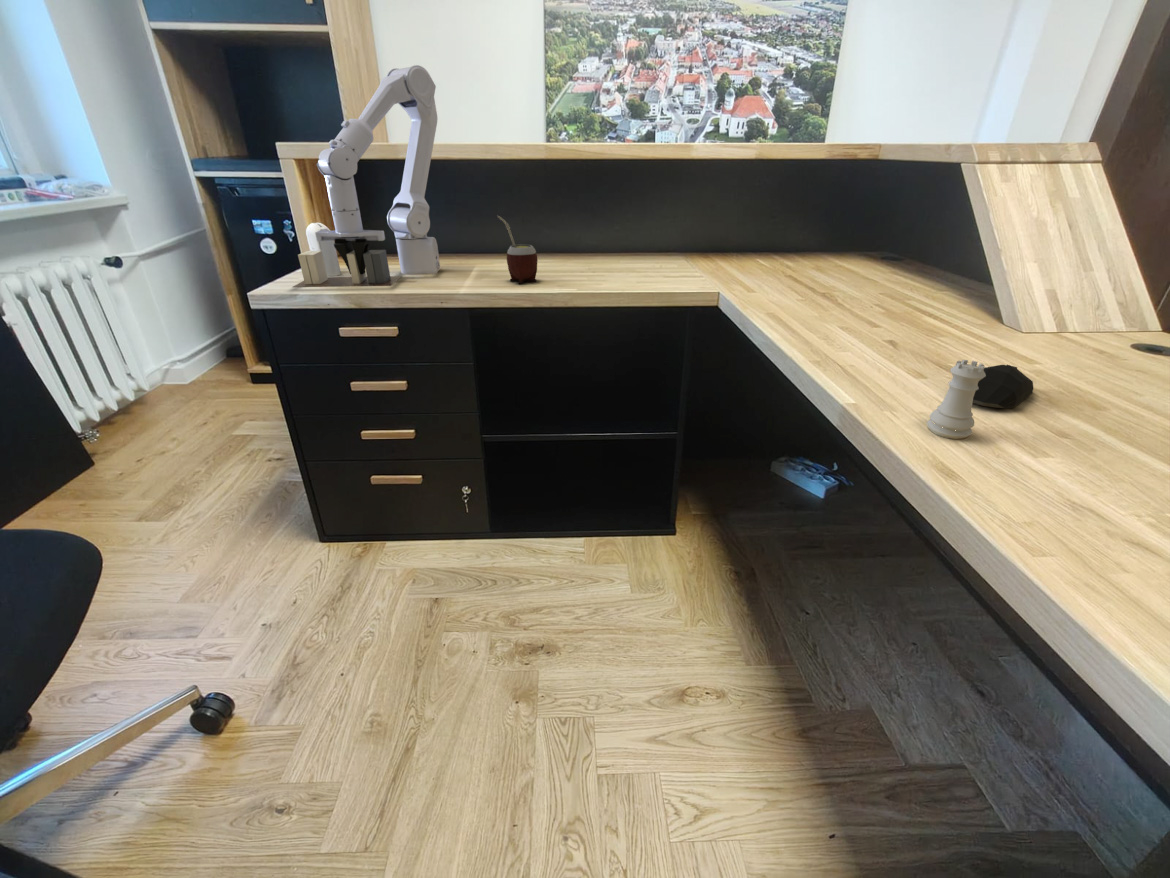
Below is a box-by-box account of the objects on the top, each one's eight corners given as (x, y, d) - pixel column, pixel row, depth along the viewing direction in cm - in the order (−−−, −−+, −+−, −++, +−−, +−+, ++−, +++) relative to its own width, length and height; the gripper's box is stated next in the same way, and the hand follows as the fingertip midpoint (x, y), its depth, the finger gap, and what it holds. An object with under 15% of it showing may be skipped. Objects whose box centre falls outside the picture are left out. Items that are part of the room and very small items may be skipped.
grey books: (390, 278, 131) (385, 249, 128) (384, 283, 127) (379, 253, 123) (374, 278, 131) (369, 250, 128) (368, 283, 126) (362, 253, 123)
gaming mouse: (1049, 387, 73) (1062, 358, 71) (1001, 416, 66) (1014, 385, 64) (996, 373, 78) (1006, 345, 76) (946, 399, 70) (955, 369, 68)
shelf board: (402, 279, 134) (402, 276, 133) (391, 289, 125) (390, 285, 124) (310, 280, 133) (309, 277, 133) (292, 290, 124) (291, 287, 124)
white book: (366, 278, 131) (360, 250, 128) (359, 283, 126) (353, 254, 123) (359, 279, 131) (353, 250, 128) (352, 283, 126) (346, 254, 123)
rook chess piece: (921, 420, 65) (941, 355, 61) (964, 424, 64) (988, 358, 60) (930, 437, 61) (952, 369, 57) (976, 442, 60) (1002, 373, 56)
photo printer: (313, 273, 140) (301, 221, 134) (330, 271, 143) (319, 220, 137) (326, 280, 133) (313, 225, 127) (344, 277, 136) (332, 224, 130)
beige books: (328, 279, 131) (321, 250, 127) (320, 284, 126) (313, 254, 123) (313, 279, 130) (306, 250, 127) (304, 284, 126) (297, 254, 123)
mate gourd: (541, 278, 133) (538, 211, 126) (533, 286, 126) (530, 215, 119) (511, 277, 134) (506, 211, 127) (502, 285, 127) (496, 215, 120)
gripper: (304, 212, 117) (319, 277, 124) (373, 211, 118) (384, 276, 124) (317, 208, 124) (330, 271, 130) (383, 208, 124) (393, 270, 131)
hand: (357, 273), depth 128 cm, fingers closed on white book, 2 cm apart
